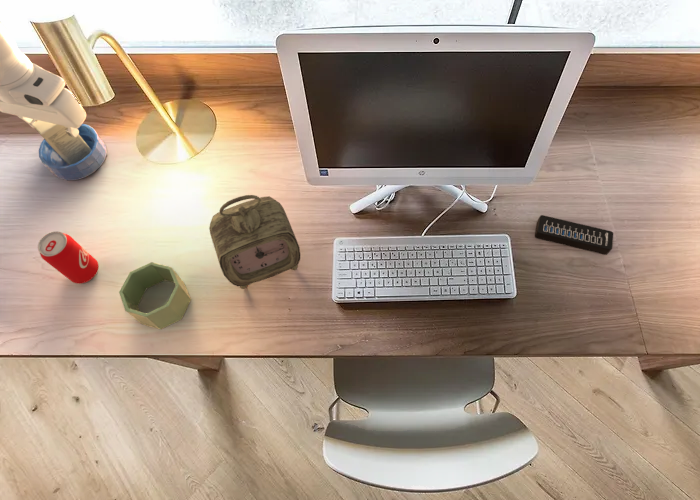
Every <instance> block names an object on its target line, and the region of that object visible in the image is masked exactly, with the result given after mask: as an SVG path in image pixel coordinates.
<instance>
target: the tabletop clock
mask: <svg viewBox="0 0 700 500" xmlns="http://www.w3.org/2000/svg"><path fill="white" fill-rule="evenodd" d="M245 200H248V201H245ZM241 201H244V202H242V203H241ZM239 202H240V203H239ZM237 203H238V204H237ZM234 204H236V205H234ZM232 205H233V206H232ZM208 227H209V228H208V229H209V235H210V238H211V241H212V244H213V248H214V251H215V254H216V257H217V261H218V264H219V267H220V270H221V272H222V274H223V276H224V277H225V278H226V279H227V281H228V282H229V283H230V284H231V285H233V286H235V287H239V288H240V289H242V290H246V289H247V288H248V286H249V285H251V284H255V283H258V282H261V281H264V280H267V279H270V278H272V277H274V276H277V275H279V274H282V273H284V272H287V271H289V270H291V271H296V270H298V268H299V263H300V261H301V247H300V244H299V242H298V240H297V238H296V235H295V233H294V230H293V228H292V226H291V223H290V220H289V218H288V215H287V212H286V211H285V208H284V207H283V205H282V204H281V202H279V201H277V200H276V199H274V198H273V197H272V196H270V195H269V196H258V195H255V194H246V195H245V194H244V195H241V196H238V197H235V198H232V199H230V200H228V201H226V202H225V203H223V204H222V206H221V207H220V208H219V211H218V212H216V213H215V214H214V215H212V217H211V219H210V223H209V226H208Z"/></svg>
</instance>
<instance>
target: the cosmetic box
mask: <svg viewBox="0 0 700 500" xmlns="http://www.w3.org/2000/svg"><path fill="white" fill-rule="evenodd" d="M32 126H33V127H34V128H33V129H35V130H36V132H37V133H38V134H39V135H40V136H41V137H42V138H43V140H44V139H45V140H46V141H47V142H48V143H49V145H50V146H51V147H52V148H53V149H54V150H55V151H56V152H57V153H58V154H59V155H60V156H61V158H62V159H63V160H64V161H65V162H66V163H67V164H68V165H71V164H75V163H77V162H78V161H80V160H82V159H84V158H85V157H86V156H87V155H88V154H89V153H90V152H91V149H90V147H89V146H88V145H87V144H86V143H85V141H84V140H83V139H82V138H81V136H80V135H79V134H78V135H77V137H72V136H69V135H68V134H67V133H66V130H67V129H68V128H67V127H65V126H62V125H58V124H53V123H49V122H44V121H39V120H38V121H36V122H35V123H33V124H32Z"/></svg>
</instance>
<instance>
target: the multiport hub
mask: <svg viewBox="0 0 700 500" xmlns="http://www.w3.org/2000/svg"><path fill="white" fill-rule="evenodd" d="M534 238H535V239H538V240H542V241H547V242H552V243H554V244H559V245H563V246H567V247H570V248H571V247H572V248H575V249H579V250H584V251H588V252H592V253H596V254H600V255H605V256H606V255H608V254H609V253H610V252H611V250H612V249H613V242H614V232H613V231H612V230H608V229H603V228H600V227H596V226H592V225H586V224H582V223H578V222H575V221H569V220H565V219H561V218H557V217H552V216H548V215H544V214H541V215H540V216H539V217H538V219H537V220H536V225H535V231H534Z"/></svg>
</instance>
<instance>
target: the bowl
mask: <svg viewBox="0 0 700 500" xmlns="http://www.w3.org/2000/svg"><path fill="white" fill-rule="evenodd" d="M77 129H78V130H79V135H80V136H81V138H82V139H83V140H84V141H85V143H86V144H87V145H88V146H89V147H90V149H91V152H90V153H89V154H88V155H87V156H86V157H85V158H84V159H82V160H80V161H78V162H77V163H75V164H71V165H68V164H67V163H66V162H65V161H64V160H63V159H62V158H61V156H60V155H59V154H58V153H57V152H56V151H55V150H54V149H53V148H52V147H51V146H50V145H49V143H48V142H47V141H46V140H45V139H44V138H43V140H42V141H41V142H40V144H39V148H38V158H39V160H40V161H41V163H42V164H43V165H44V167H46V168H47V170H48V171H50V173H51V174H52V175H53V176H54V177H57V178H58V179H60V180H64V181H76V180H81V179H84V178H87V177H89V176H90V175H92V174H94V173H95V172H96V171H97V170H98V169H99V168H100V167H102V166H103V164H104V162H105V160H106V158H107V154H108V150H107V145H106V144H105V142H104V140H102V138H101V137H100V135H99V134H98V132H97V131H96V130H95V128H93V127H92V126H90V125H89V124H86V123H82V125H81V126H80V127H79V128H77Z"/></svg>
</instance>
